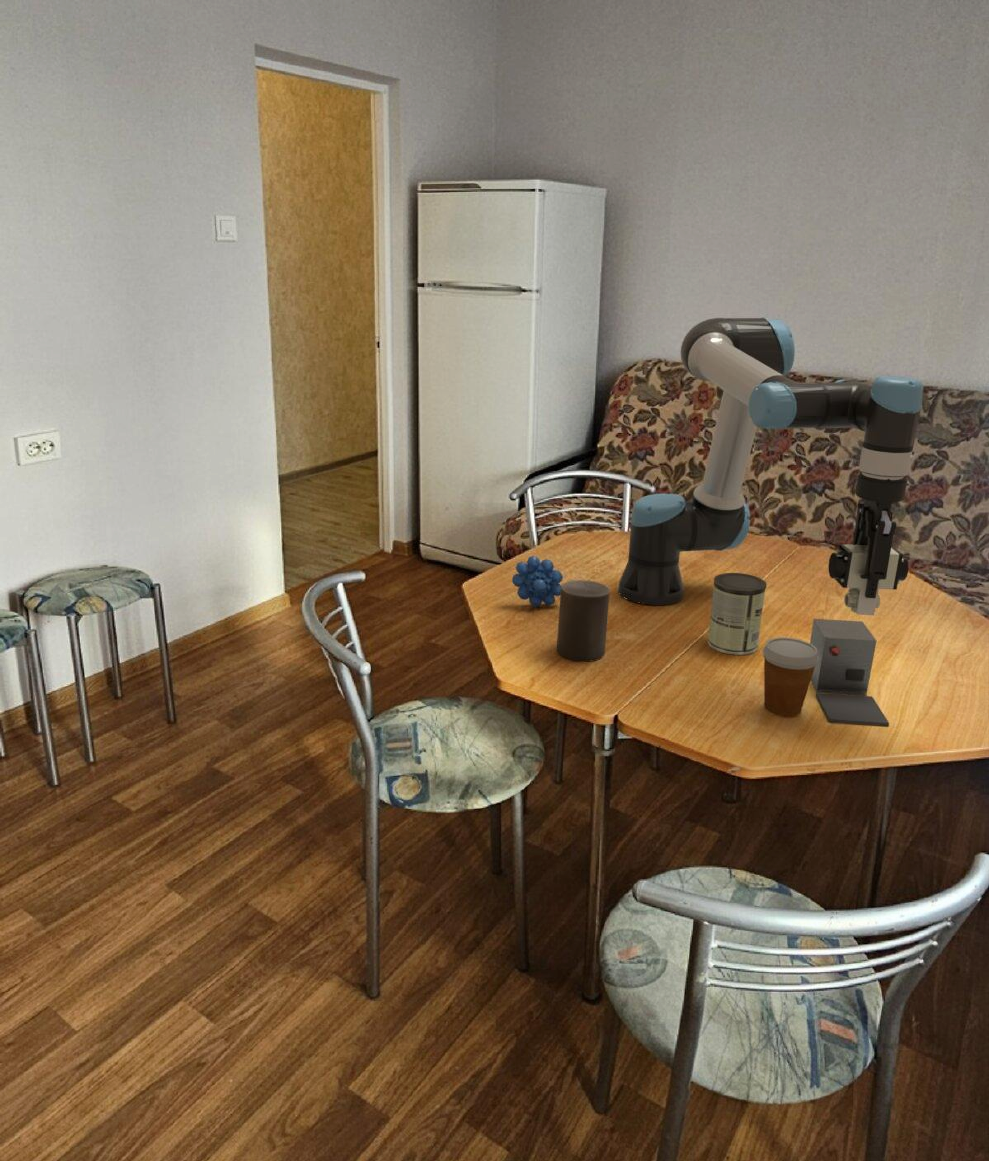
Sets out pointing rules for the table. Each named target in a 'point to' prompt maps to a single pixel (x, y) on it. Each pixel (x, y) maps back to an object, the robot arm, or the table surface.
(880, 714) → the pad
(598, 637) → the pillar candle
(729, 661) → the table surface
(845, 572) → the pneumatic valve
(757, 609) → the coffee can
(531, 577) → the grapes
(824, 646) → the block
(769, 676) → the disposable coffee cup
